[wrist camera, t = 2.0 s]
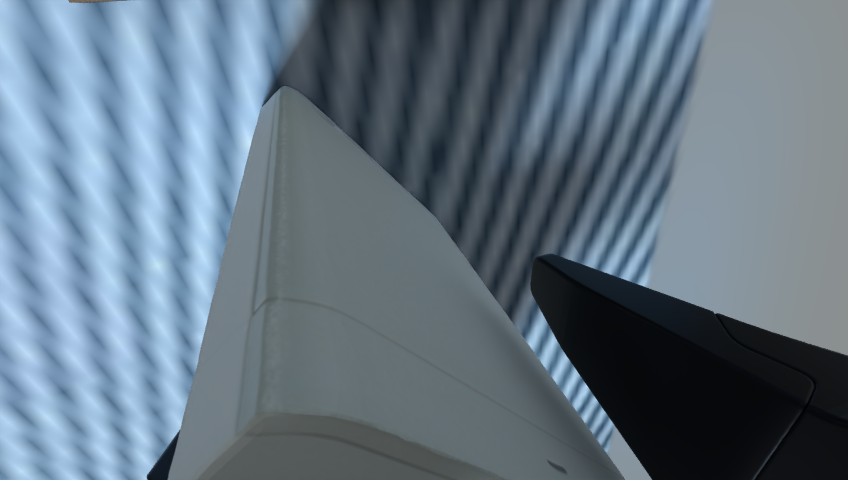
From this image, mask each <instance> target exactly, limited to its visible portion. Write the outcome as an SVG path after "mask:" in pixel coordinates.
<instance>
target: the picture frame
mask: <svg viewBox="0 0 848 480" xmlns="http://www.w3.org/2000/svg"><path fill="white" fill-rule="evenodd" d="M109 1H126V0H69V2H74V3H92V2H109Z"/></svg>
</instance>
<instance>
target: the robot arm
mask: <svg viewBox="0 0 848 480" xmlns="http://www.w3.org/2000/svg"><path fill="white" fill-rule="evenodd" d="M531 292H532V295H533V297H534V299H535V300H536V302H537V304H538V306H539V308H540V310H541V312H542V313H543V315H544V317H545V319H546V321H547V323H548V324H549V326H550V328H551V330H552V332H553V334H554V336H555V337H556V339H557V341H558V343H559V344H560V346H561V348H562V349H563V351H564V352H565V354H566V356H567V357H568V358H569V360H570V361H571V363H572V364H573V366H574V367H575V369H576V370H577V372H578V373H579V374H580V376H581V377H582V379H583V380H584V382H585V383H586V385H587V386H588V387H589V389H590V390H591V392H592V393H593V395H594V396H595V398H596V399H597V400H598V402H599V403H600V405H601V406H602V408H603V409H604V411H605V412H606V413H607V415H608V416H609V418H610V419H611V421H612V422H613V424H614V425H615V427H616V428H617V429H618V431H619V432H620V433H621V435H622V437H623V438H624V439H625V441H626V442H627V444H628V445H629V447H630V448H631V450H632V451H633V452H634V454H635V455H636V457H637V458H638V460H639V461H640V463H641V464H642V466H643V467H644V468H645V470H646V471H647V473H648V474H649V476H650V477H651V479H652V480H848V355H844V354H841V353H838V352H834V351H831V350H828V349H825V348H821V347H818V346H815V345H811V344H808V343H805V342H802V341H798V340H795V339H792V338H789V337H786V336H783V335H780V334H776V333H773V332H770V331H767V330H764V329H761V328H759V327H756V326H753V325H750V324H747V323H744V322H741V321H738V320H735V319H733V318H730V317H727V316H724V315H722V314H718V313H717V314H714V312H713V311H710V310H708V309H704V308H702V307H699V306H696V305H694V304H691V303H688V302H685V301H682V300H680V299H677V298H674V297H671V296H668V295H666V294H663V293H660V292H657V291H654V290H652V289H649V288H646V287H643V286H641V285H638V284H635V283H632V282H630V281H627V280H624V279H621V278H618V277H616V276H613V275H610V274H607V273H604V272H602V271H599V270H596V269H593V268H590V267H588V266H585V265H582V264H579V263H577V262H574V261H571V260H568V259H565V258H563V257H560V256H557V255H554V254H546V255H542V256H538V257H536V258H535V259H534V261H533V266H532V275H531ZM179 433H180V430H179V432H178V433H177V435H176V436H175V437H174V439H173V440H172V442H171V443H170V444H169V446H168V447H167V448H166V450H165V451H164V453H163V454H162V455H161V457H160V458H159V460H158V461H157V462H156V464H155V465H154V467H153V468H152V469H151V471H150V472H149V473H148V475H147V479H148V480H168V476H169V471H170V468H171V464H172V461H173V457H174V454H175V450H176V446H177V442H178V437H179Z"/></svg>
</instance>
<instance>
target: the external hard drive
mask: <svg viewBox="0 0 848 480" xmlns="http://www.w3.org/2000/svg"><path fill="white" fill-rule="evenodd" d="M168 480H625V479H624V477H623V476H622V474H621V473H620V471H619V470H618V469H617V467H616V466H615V464H614V463H613V462H612V460H611V459H610V458H609V456H608V455H607V453H606V452H605V451H604V449H603V448H602V446H601V445H600V444H599V442H598V441H597V440H596V438H595V437H594V435H593V434H592V433H591V431H590V430H589V428H588V427H587V426H586V424H585V423H584V421H583V420H582V419H581V417H580V416H579V414H578V413H577V412H576V410H575V409H574V407H573V406H572V405H571V403H570V402H569V401H568V399H567V398H566V396H565V395H564V394H563V392H562V391H561V389H560V388H559V387H558V385H557V384H556V383H555V381H554V380H553V378H552V377H551V376H550V374H549V373H548V372H547V370H546V369H545V367H544V366H543V365H542V363H541V362H540V360H539V359H538V358H537V356H536V355H535V353H534V352H533V350H532V349H531V348H530V346H529V345H528V343H527V342H526V341H525V339H524V338H523V336H522V335H521V334H520V332H519V331H518V329H517V328H516V327H515V325H514V324H513V323H512V321H511V320H510V319H509V317H508V316H507V314H506V313H505V312H504V310H503V309H502V307H501V306H500V305H499V303H498V302H497V301H496V299H495V298H494V297H493V295H492V294H491V292H490V291H489V290H488V288H487V287H486V286H485V284H484V283H483V281H482V280H481V279H480V277H479V276H478V274H477V273H476V272H475V270H474V269H473V268H472V266H471V265H470V264H469V262H468V261H467V259H466V258H465V256H464V255H463V254H462V252H461V251H460V250H459V248H458V247H457V246H456V244H455V243H454V242H453V240H452V239H451V237H450V236H449V235H448V233H447V232H446V231H445V229H444V228H443V226H442V225H441V224H440V222H439V221H438V220H437V218H436V217H435V216H434V215H433V214H432V213H431V212H430V211H429V210H427V209H426V208H425V207H424V206H423V205H422V204H421V203H420V202H419V201H418V200H417V199H416V198H415V197H413V196H412V195H411V194H410V193H409V192H408V191H407V190H406V189H405V188H404V187H403V186H401V185H400V184H399V183H398V182H397V181H396V180H395V179H394V178H393V177H392V176H391V175H390V174H389V173H388V172H386V171H385V170H384V169H383V168H382V167H381V166H380V165H379V164H378V163H377V162H376V161H375V160H374V159H373V158H371V157H370V156H369V155H368V154H367V153H366V152H365V151H364V150H363V149H362V148H361V147H360V146H359V145H358V144H357V143H356V142H354V141H353V140H352V139H351V138H350V137H349V136H348V135H347V134H346V133H345V132H344V131H342V130H341V129H340V128H339V127H338V126H337V125H336V124H335V123H334V122H333V121H332V120H331V119H330V118H328V117H327V116H326V115H325V114H324V113H323V112H322V111H321V110H320V109H319V108H317V107H316V106H315V105H314V104H313V103H312V102H311V101H310V100H308V99H307V98H306V97H305V96H304V95H303V94H302V93H300V92H299V91H297V90H295V89H293V88H291V87H288V86H283V87H281V88H280V89H279V90H278V91H277V92H276V93H275V94H274V95H273V96H272V97H271V98H270V99H269V100H268V102H267V103H266V104H265V105H264V106H263V107H262V108H261V110H260V113H259V117H258V122H257V125H256V128H255V132H254V135H253V139H252V143H251V147H250V151H249V155H248V159H247V163H246V166H245V170H244V175H243V179H242V182H241V187H240V190H239V194H238V198H237V202H236V206H235V210H234V213H233V217H232V221H231V225H230V230H229V233H228V237H227V243H226V247H225V250H224V254H223V257H222V262H221V267H220V271H219V276H218V280H217V284H216V288H215V292H214V295H213V299H212V303H211V307H210V311H209V316H208V320H207V324H206V328H205V333H204V337H203V341H202V345H201V350H200V354H199V360H198V365H197V368H196V372H195V375H194V379H193V383H192V386H191V390H190V394H189V397H188V401H187V405H186V408H185V412H184V416H183V421H182V425H181V429H180V433H179V437H178V442H177V446H176V450H175V454H174V457H173V461H172V464H171V468H170V471H169V476H168Z"/></svg>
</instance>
